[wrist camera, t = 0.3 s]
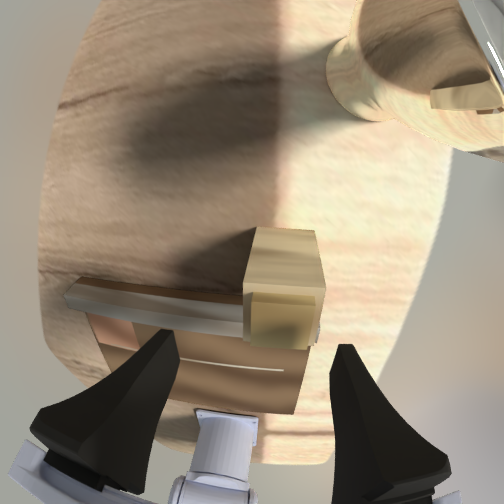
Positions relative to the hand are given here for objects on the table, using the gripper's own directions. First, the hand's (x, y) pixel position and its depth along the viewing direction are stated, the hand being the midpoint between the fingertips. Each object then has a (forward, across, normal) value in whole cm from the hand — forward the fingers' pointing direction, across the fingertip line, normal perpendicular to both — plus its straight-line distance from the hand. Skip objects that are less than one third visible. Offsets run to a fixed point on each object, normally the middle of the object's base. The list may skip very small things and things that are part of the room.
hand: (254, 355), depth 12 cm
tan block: (+10, -1, 0) cm, 10 cm away
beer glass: (+10, -6, -13) cm, 17 cm away
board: (+10, +7, +12) cm, 17 cm away
